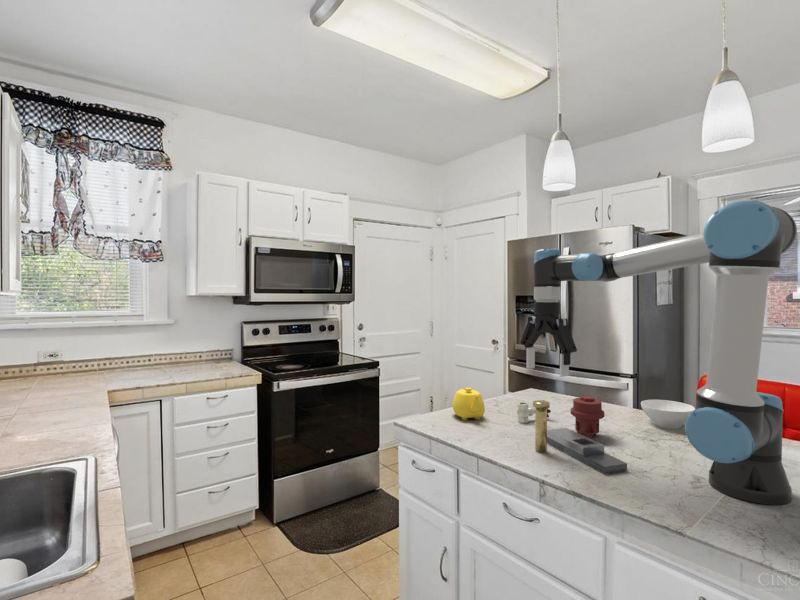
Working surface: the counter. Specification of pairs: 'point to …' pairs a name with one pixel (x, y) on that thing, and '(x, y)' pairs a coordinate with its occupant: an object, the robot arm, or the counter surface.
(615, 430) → the counter surface
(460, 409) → the teapot
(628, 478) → the counter surface
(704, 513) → the counter surface
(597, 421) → the mechanical component
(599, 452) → the plate with square socket
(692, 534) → the counter surface
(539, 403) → the brass knob
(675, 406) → the bowl
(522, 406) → the valve
